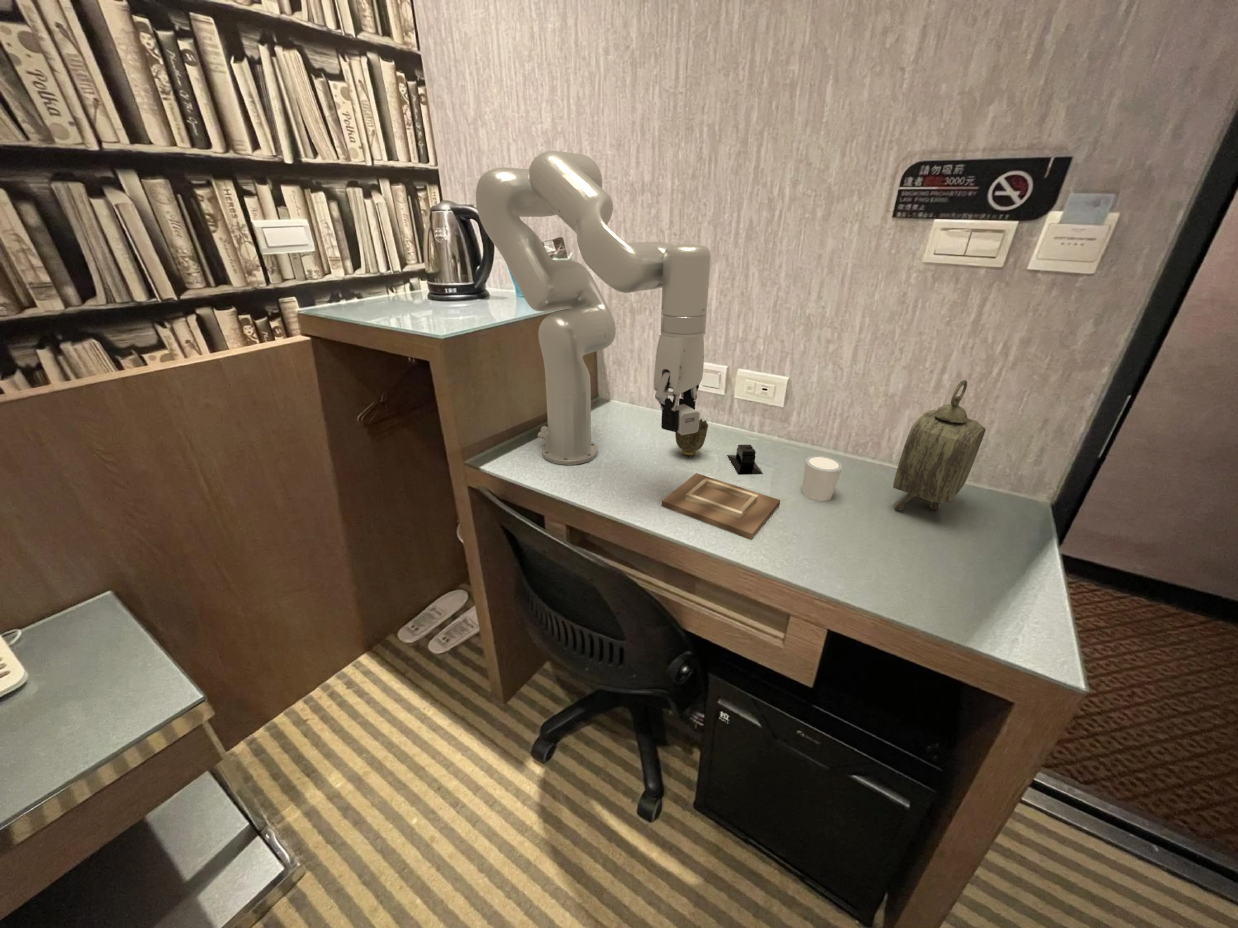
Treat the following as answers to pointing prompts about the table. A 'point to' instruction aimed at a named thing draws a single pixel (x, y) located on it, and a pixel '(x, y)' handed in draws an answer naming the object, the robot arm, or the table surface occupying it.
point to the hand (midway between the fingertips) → (678, 424)
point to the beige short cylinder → (820, 477)
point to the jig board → (722, 505)
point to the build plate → (745, 461)
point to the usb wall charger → (687, 420)
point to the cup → (692, 440)
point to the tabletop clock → (939, 453)
